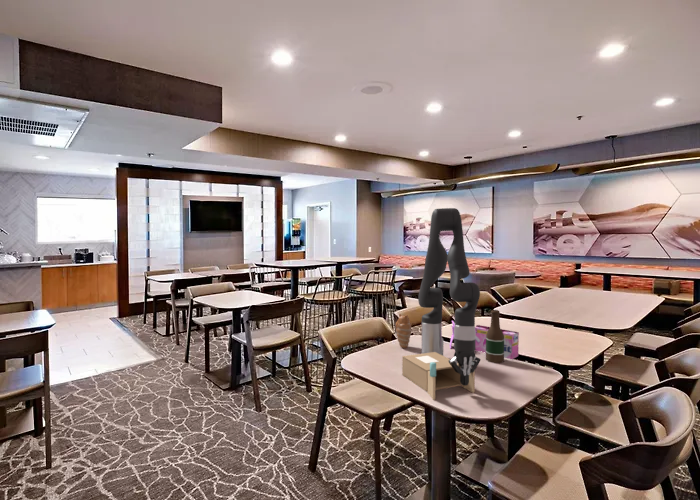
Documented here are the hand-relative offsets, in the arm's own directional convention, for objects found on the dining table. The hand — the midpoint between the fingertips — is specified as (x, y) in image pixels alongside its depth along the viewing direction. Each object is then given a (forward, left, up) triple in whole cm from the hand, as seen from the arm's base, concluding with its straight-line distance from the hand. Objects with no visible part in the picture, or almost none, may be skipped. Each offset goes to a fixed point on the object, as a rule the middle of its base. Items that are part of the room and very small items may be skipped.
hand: (464, 384), depth 135 cm
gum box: (-44, -33, -4) cm, 55 cm away
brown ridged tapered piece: (-8, -58, -4) cm, 58 cm away
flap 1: (+12, -6, -3) cm, 14 cm away
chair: (-33, -46, -4) cm, 56 cm away
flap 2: (-4, -6, -3) cm, 8 cm away
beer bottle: (-36, -24, -4) cm, 43 cm away
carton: (+4, -16, -3) cm, 17 cm away
